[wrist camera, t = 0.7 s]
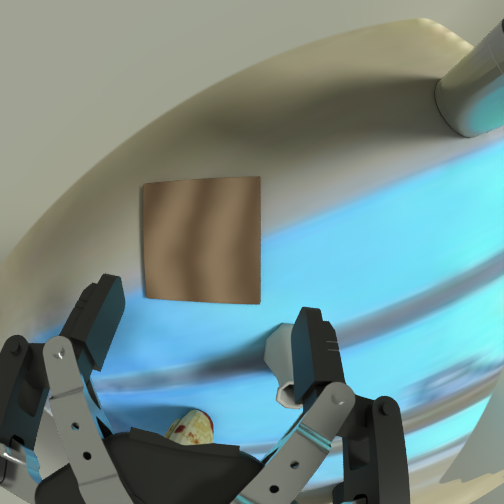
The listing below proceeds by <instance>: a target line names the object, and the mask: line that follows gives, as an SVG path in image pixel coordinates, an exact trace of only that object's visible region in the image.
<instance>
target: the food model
mask: <svg viewBox="0 0 504 504" xmlns="http://www.w3.org/2000/svg"><path fill="white" fill-rule="evenodd" d="M213 434H214V431H213V422H212V420H211V418H210V417H209V416H208V414H207V413H205V412H202V411H200V410H196V409H195V410H191V411H190V412H188V413H187V414H186V415H185V416H184V417H183V418H182V419H180V418H178V419H176V420H175V421H174V422H173V424H172V425H171V426H170V428H169V429H168V431H167V432H166V434H165V435H164V437H166V438H168V439H170V440H172V441H174V442H177V443H179V444H182V445H197V444H208V443H213Z"/></svg>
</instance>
